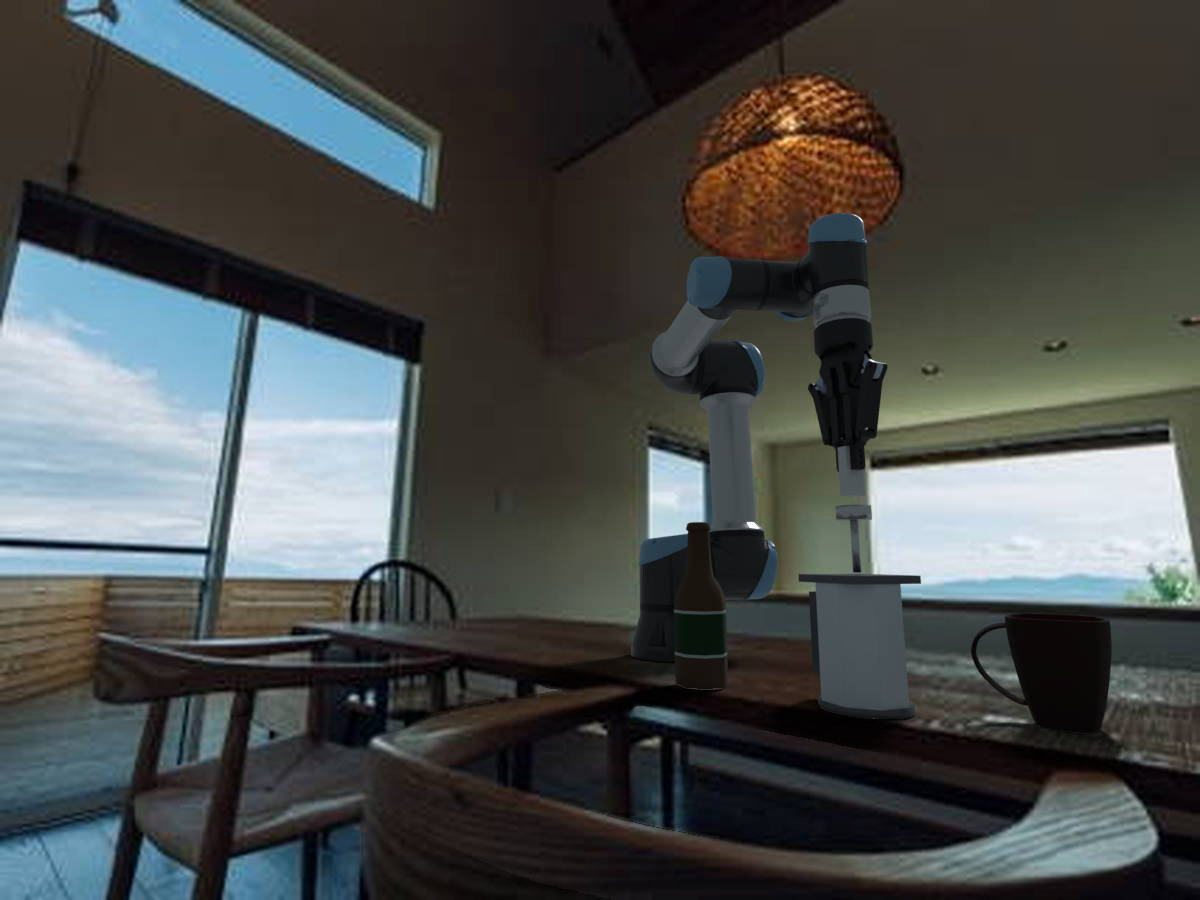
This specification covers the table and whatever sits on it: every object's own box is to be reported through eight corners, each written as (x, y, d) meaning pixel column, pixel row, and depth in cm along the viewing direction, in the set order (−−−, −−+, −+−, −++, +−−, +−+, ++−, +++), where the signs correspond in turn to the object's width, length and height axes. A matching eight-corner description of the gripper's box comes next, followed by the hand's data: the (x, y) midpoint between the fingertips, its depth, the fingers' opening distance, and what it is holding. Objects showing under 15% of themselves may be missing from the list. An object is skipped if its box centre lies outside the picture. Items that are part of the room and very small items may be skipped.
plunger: (831, 572, 85) (828, 506, 87) (858, 572, 87) (854, 507, 88) (855, 572, 81) (851, 504, 83) (883, 572, 83) (878, 505, 84)
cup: (1124, 744, 66) (1109, 623, 68) (969, 723, 74) (960, 615, 76) (1123, 725, 74) (1109, 616, 76) (983, 707, 82) (974, 610, 84)
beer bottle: (696, 679, 101) (693, 524, 105) (739, 686, 95) (734, 522, 99) (664, 686, 95) (662, 522, 99) (707, 693, 90) (703, 520, 94)
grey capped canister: (785, 698, 87) (780, 573, 90) (852, 692, 91) (845, 573, 94) (862, 723, 74) (853, 576, 77) (936, 715, 78) (925, 575, 81)
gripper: (789, 337, 94) (797, 499, 90) (853, 304, 82) (866, 490, 78) (831, 343, 97) (841, 501, 93) (899, 312, 85) (913, 492, 81)
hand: (852, 495), depth 86 cm, fingers closed
